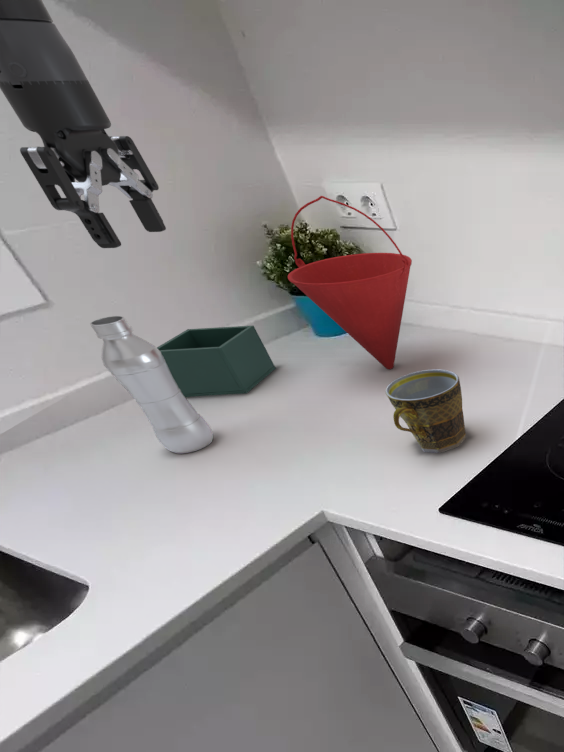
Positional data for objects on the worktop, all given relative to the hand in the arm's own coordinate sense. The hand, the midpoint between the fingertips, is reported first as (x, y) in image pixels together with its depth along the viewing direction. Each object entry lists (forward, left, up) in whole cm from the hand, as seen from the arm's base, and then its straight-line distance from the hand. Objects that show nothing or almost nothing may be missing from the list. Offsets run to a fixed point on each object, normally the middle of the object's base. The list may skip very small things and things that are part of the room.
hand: (135, 239), depth 70 cm
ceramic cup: (+31, -8, -29) cm, 44 cm away
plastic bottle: (-8, -2, -29) cm, 30 cm away
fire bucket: (+14, +23, -29) cm, 40 cm away
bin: (-15, +21, -29) cm, 39 cm away
